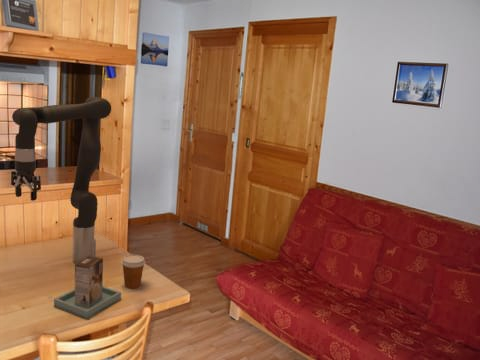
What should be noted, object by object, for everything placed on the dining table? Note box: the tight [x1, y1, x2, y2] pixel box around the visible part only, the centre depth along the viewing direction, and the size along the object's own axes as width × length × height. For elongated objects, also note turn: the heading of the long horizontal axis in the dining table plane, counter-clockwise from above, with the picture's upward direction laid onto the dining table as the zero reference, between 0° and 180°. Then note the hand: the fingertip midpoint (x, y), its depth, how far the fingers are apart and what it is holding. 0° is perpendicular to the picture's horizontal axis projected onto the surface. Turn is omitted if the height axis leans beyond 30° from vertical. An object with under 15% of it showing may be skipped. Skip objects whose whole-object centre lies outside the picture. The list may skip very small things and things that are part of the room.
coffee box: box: [74, 256, 104, 307], centre depth 166 cm, size 9×6×16 cm
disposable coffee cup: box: [121, 254, 146, 290], centre depth 184 cm, size 10×10×12 cm
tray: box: [53, 285, 122, 320], centre depth 168 cm, size 18×16×3 cm
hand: (26, 198), depth 180 cm, fingers open, 8 cm apart
